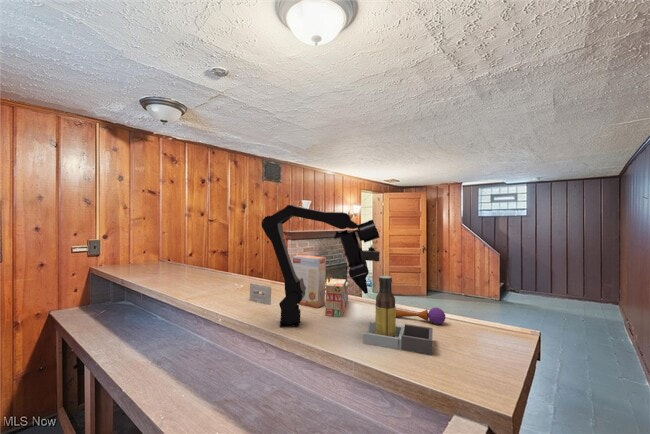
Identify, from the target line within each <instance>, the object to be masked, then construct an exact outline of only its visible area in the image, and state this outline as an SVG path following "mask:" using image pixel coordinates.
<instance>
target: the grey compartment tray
mask: <svg viewBox="0 0 650 434" xmlns="http://www.w3.org/2000/svg"><path fill="white" fill-rule="evenodd" d="M368 324H369V325H368V332H365V331H363V332H362V344H364V345H365V344H366V345H371V346H378V347H382V348H389V349H395V350H400V351H405V352H412V353H415V354H416V353H417V354H423V355H428V356H433V337H434V336H433V333H434V331H433V327H428V326H421V325H414V324H407V323H405V324H404V326H400V325H396V334H395V337H390V336H384V335H378V334H376V321H375V322H374V321H369V323H368Z"/></svg>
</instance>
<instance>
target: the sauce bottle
mask: <svg viewBox="0 0 650 434" xmlns="http://www.w3.org/2000/svg"><path fill="white" fill-rule="evenodd" d="M378 282H379V289H378V290H379V291H378V293H377V295H376V296H375V323H376V333H375V334H378V335H384V336H390V337H396V336H395V334H396V326H397V325H396V324H397V322H396V321H397V320H396V319H397V317H396V308H397V307H396V298H395V295H394V294H393V291H392V290H393V289H392V282H393V277H392V276H390V275H380V276H378Z"/></svg>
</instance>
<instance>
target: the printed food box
mask: <svg viewBox="0 0 650 434" xmlns="http://www.w3.org/2000/svg"><path fill="white" fill-rule="evenodd" d="M348 304H349V282H348V281H347V279H343V278H342V279H341V278H340V279H339V278H331V279H330V281H329V282H328V283H327V284H325V317H333V318H342V317H343V315H344V313H343V312H345V310H346V307H347V306H348Z"/></svg>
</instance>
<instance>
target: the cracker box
mask: <svg viewBox="0 0 650 434" xmlns="http://www.w3.org/2000/svg"><path fill="white" fill-rule="evenodd" d="M326 264H327V257H325V256H315V255H308V254H307V255H305V254H295V255H293V256H292V265H293V268H294V271H295V274H296V276H297V277H298V279H299V280H300V279H301V278H303V282H304V285H305V287H306V290H305V296H304V298H303V299H302V301H301V302H300V303H299V304H298V305H301V306H302V305H303V306H308V307H312V308H317V309H319V308H320V307H323V306H326V266H327V265H326Z"/></svg>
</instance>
